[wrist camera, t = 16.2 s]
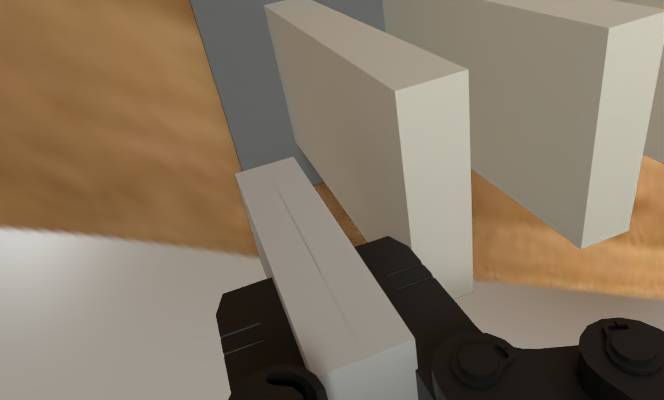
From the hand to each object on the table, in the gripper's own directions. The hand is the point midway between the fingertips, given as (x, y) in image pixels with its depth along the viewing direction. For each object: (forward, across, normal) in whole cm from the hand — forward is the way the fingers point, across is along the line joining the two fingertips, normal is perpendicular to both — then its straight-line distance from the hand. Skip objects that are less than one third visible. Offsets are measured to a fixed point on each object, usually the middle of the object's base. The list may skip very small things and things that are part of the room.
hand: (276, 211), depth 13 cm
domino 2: (+10, +8, 0) cm, 13 cm away
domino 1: (+10, +3, 0) cm, 10 cm away
